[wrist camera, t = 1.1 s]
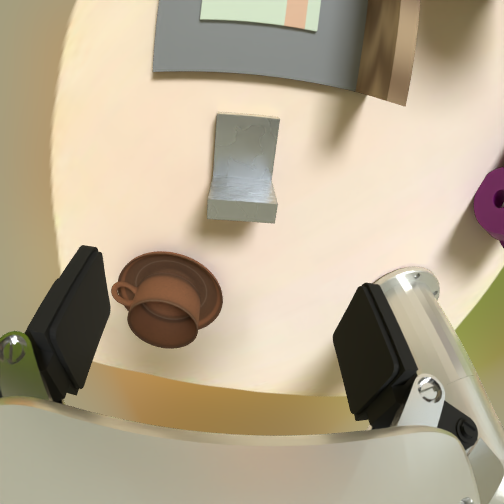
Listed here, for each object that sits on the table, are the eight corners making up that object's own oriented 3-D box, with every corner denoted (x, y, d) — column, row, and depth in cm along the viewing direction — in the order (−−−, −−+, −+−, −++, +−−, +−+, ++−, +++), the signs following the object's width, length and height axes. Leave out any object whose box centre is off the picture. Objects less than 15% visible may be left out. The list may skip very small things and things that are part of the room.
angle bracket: (267, 191, 27) (274, 223, 22) (213, 187, 27) (207, 218, 22) (278, 117, 23) (288, 131, 18) (218, 111, 23) (211, 124, 18)
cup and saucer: (126, 313, 36) (114, 350, 31) (119, 235, 29) (98, 272, 24) (216, 327, 38) (214, 366, 33) (230, 251, 31) (229, 292, 26)
